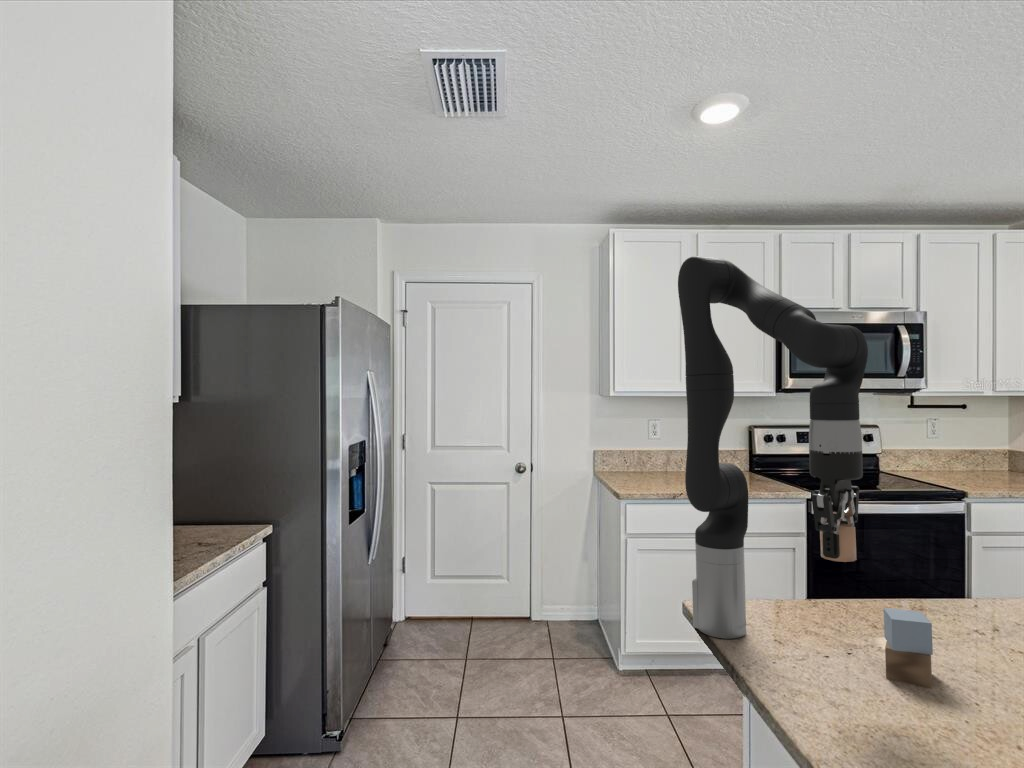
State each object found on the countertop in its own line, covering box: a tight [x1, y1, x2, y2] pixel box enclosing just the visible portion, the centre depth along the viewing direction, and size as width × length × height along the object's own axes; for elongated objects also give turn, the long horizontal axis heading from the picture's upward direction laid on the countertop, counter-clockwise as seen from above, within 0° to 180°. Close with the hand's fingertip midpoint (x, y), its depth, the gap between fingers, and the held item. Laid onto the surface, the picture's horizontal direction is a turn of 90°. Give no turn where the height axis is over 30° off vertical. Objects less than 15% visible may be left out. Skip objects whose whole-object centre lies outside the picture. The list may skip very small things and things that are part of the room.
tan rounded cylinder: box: [819, 522, 858, 563], centre depth 93 cm, size 5×5×5 cm
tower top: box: [883, 607, 934, 656], centre depth 96 cm, size 6×6×5 cm
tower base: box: [884, 641, 933, 690], centre depth 96 cm, size 6×6×5 cm
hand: (837, 553), depth 93 cm, fingers closed on tan rounded cylinder, 5 cm apart
